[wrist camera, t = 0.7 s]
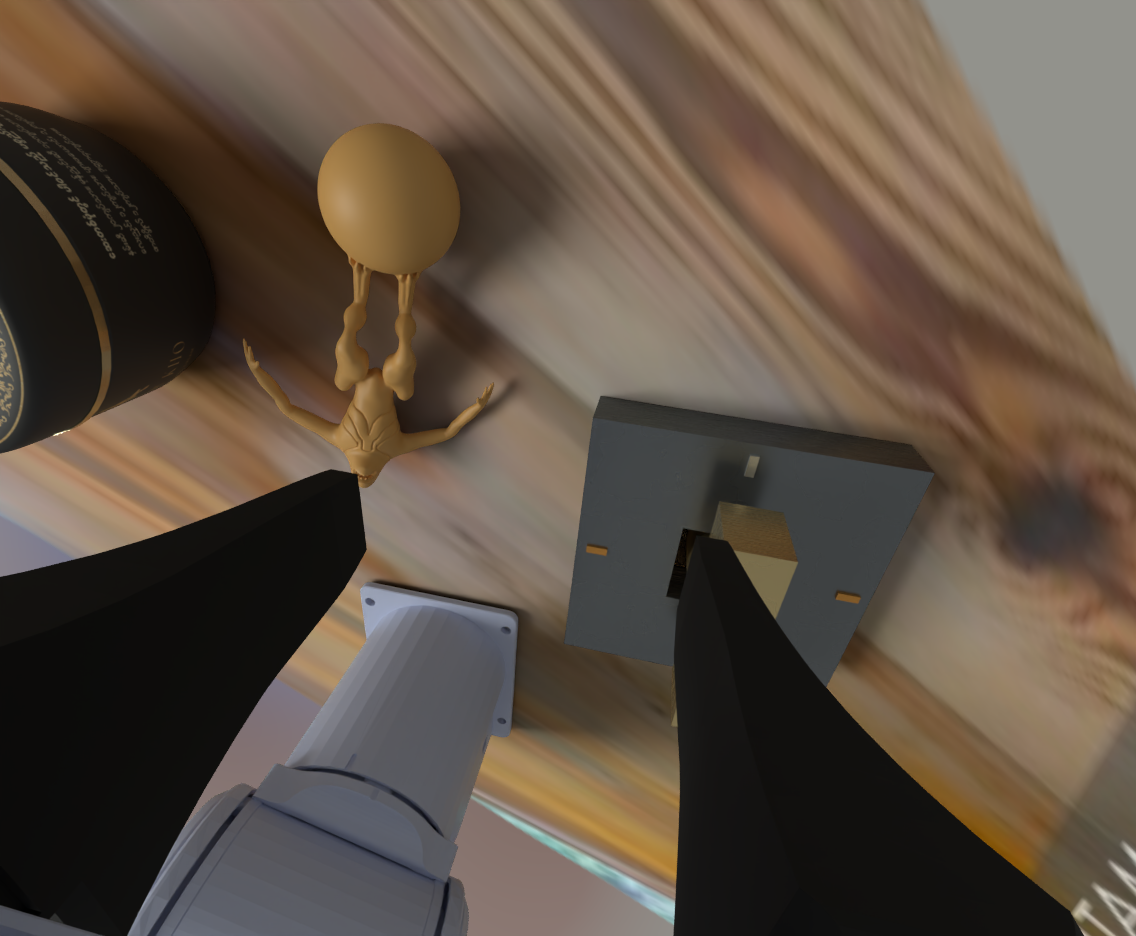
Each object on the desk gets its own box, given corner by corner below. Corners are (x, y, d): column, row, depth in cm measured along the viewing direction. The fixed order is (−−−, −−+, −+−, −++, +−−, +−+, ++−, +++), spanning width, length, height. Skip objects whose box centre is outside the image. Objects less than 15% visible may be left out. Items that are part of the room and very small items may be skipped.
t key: (722, 616, 24) (734, 739, 19) (668, 605, 24) (665, 724, 19) (773, 461, 20) (805, 563, 15) (708, 450, 20) (717, 547, 15)
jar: (154, 419, 25) (-38, 512, 18) (-48, 220, 21) (-369, 244, 15) (283, 297, 20) (95, 359, 14) (57, 28, 17) (-322, -54, 11)
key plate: (811, 660, 24) (821, 699, 23) (572, 611, 26) (563, 645, 24) (911, 445, 19) (935, 474, 17) (600, 396, 20) (592, 419, 18)
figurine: (554, 160, 15) (479, 544, 19) (520, 184, 20) (467, 477, 24) (206, 53, 12) (202, 521, 16) (274, 112, 18) (259, 452, 22)
